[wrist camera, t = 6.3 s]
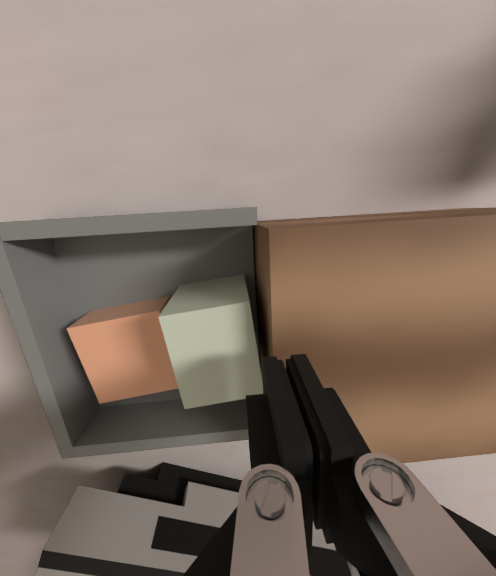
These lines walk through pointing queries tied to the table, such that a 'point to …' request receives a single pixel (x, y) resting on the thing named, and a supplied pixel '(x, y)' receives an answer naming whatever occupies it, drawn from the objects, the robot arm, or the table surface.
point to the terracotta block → (124, 350)
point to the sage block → (212, 341)
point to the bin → (113, 292)
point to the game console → (153, 527)
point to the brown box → (390, 321)
